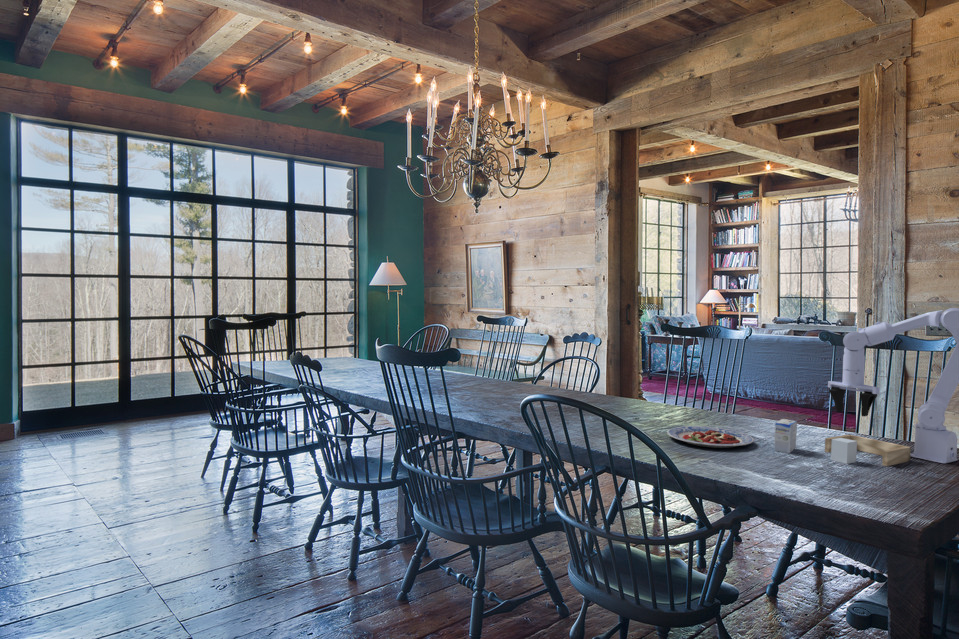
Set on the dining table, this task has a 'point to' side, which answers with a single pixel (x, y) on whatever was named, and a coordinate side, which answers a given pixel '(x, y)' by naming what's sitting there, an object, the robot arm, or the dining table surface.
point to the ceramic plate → (710, 436)
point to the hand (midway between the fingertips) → (851, 413)
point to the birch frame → (877, 449)
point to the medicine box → (785, 435)
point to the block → (843, 450)
